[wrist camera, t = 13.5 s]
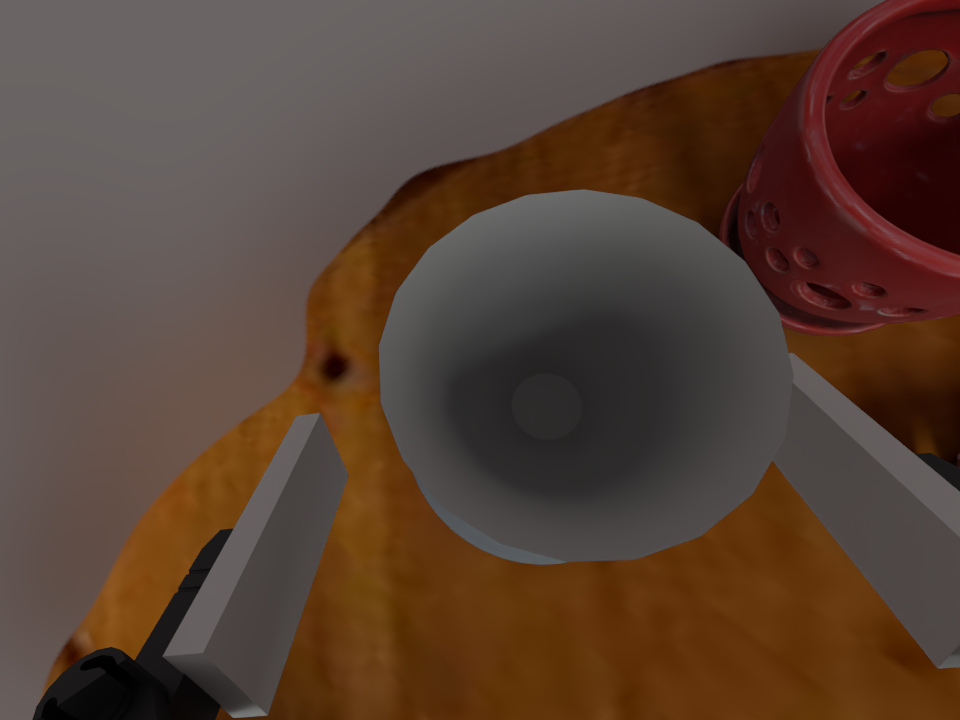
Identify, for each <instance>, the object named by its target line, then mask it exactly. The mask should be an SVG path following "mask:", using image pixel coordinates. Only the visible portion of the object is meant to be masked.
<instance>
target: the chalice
mask: <svg viewBox="0 0 960 720" xmlns="http://www.w3.org/2000/svg"><path fill="white" fill-rule="evenodd" d="M379 364H380V394H381V405H382V408H383V411H384V413H385V416H386V418H387V421H388V423H389V426H390V428H391V431H392V434H393V436H394V439H395V441H396V444H397V446H398V449H399V451H400V454H401V457H402V459H403V461H404V462H405V463H406V464H407V465H408V467H409V468H410V469H411V470H412V471H413V473H414V474H415V475H416V476H417V477H418V478H419V480H420V481H421V482H422V483H423V484H424V486H425V487H426V488H427V489H428V490H429V492H430V493H431V494H432V495H433V496H434V498H435V499H436V500H437V501H438V502H439V503H440V505H441V506H442V507H443V508H444V509H445V510H447V511H449V512H450V513H452V514H453V515H455V516H457V517H458V518H460V519H461V520H463V521H464V522H466V523H468V524H469V525H471V526H472V527H474V528H476V529H477V530H479V531H480V532H482V533H484V534H485V535H487V536H488V537H490V538H491V539H493V540H495V541H496V542H498V543H499V544H503V545H506V546H510V547H514V548H517V549H521V550H525V551H528V552H532V553H536V554H539V555H543V556H547V557H550V558H554V559H558V560H561V561H565V562H574V561H607V560H636V559H638V558H641V557H644V556H647V555H650V554H652V553H655V552H658V551H661V550H664V549H667V548H669V547H672V546H675V545H678V544H681V543H683V542H686V541H689V540H692V539H695V538H698V537H700V536H701V535H703V534H704V533H705V532H706V531H708V530H709V529H710V528H711V527H713V526H714V525H715V524H716V523H718V522H719V521H720V520H721V519H722V518H724V517H725V516H726V515H727V514H729V513H730V512H731V511H732V510H734V509H735V508H736V507H737V506H739V505H740V504H741V503H742V502H744V501H745V500H746V499H747V498H748V497H750V496H751V495H752V494H753V492H754V491H755V489H756V487H757V485H758V484H759V482H760V480H761V478H762V477H763V475H764V473H765V472H766V470H767V468H768V466H769V465H770V463H771V461H772V459H773V458H774V456H775V454H776V453H777V451H778V449H779V447H780V446H781V444H782V442H783V440H784V439H785V434H786V427H787V420H788V413H789V406H790V398H791V391H792V384H793V377H794V374H793V369H792V365H791V361H790V357H789V353H788V348H787V344H786V340H785V336H784V332H783V327H782V323H781V319H780V315H779V313H778V311H777V310H776V308H775V307H774V305H773V303H772V302H771V300H770V299H769V297H768V296H767V294H766V293H765V291H764V290H763V288H762V287H761V285H760V283H759V282H758V280H757V279H756V277H755V276H754V274H753V273H752V271H751V270H750V268H749V267H748V265H747V263H746V262H745V261H744V260H743V259H742V258H740V257H739V256H738V255H737V254H735V253H734V252H733V251H732V250H731V249H729V248H728V247H727V246H726V245H724V244H723V243H722V242H721V241H720V240H718V239H717V238H716V237H715V236H713V235H712V234H711V233H710V232H709V231H707V230H706V229H705V228H704V227H703V226H701V225H700V224H699V223H698V222H695V221H693V220H691V219H688V218H686V217H684V216H682V215H679V214H677V213H675V212H672V211H670V210H668V209H665V208H663V207H661V206H659V205H656V204H654V203H652V202H649V201H647V200H645V199H642V198H636V197H630V196H623V195H617V194H610V193H604V192H598V191H591V190H585V189H583V190H573V191H563V192H553V193H543V194H532V195H525V196H523V197H520V198H517V199H515V200H512V201H509V202H507V203H504V204H501V205H499V206H496V207H493V208H491V209H488V210H485V211H483V212H480V213H477V214H475V215H473V216H471V217H470V218H469V219H467V220H466V221H465V222H463V223H462V224H461V225H459V226H458V227H456V228H455V229H454V230H452V231H451V232H450V233H448V234H447V235H446V236H444V237H443V238H442V239H440V240H439V241H437V242H436V243H435V244H433V245H432V246H431V247H429V248H428V250H427V251H426V252H425V254H424V255H423V256H422V258H421V259H420V261H419V262H418V263H417V265H416V266H415V267H414V269H413V270H412V271H411V273H410V274H409V275H408V277H407V278H406V280H405V281H404V282H403V284H402V285H401V286H400V288H399V289H398V290H397V292H396V294H395V297H394V300H393V303H392V306H391V310H390V313H389V316H388V319H387V322H386V325H385V328H384V332H383V335H382V338H381V341H380V344H379Z"/></svg>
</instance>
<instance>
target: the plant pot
mask: <svg viewBox="0 0 960 720" xmlns="http://www.w3.org/2000/svg"><path fill="white" fill-rule="evenodd" d="M928 49H936V50H941V51H943V52H944V53H945V55H946V56H947V58H948V63H947V65H946V66H945V67H944V68H943V69H942V70H941V71H940V72H939V73H938V74H937V75H935V76H934V77H933V78H931V79H929V80H927V81H924V82H922V83H919V84H916V85H910V86H897V85H893V84H891V83H889V82H888V81H887V79H886V78H887V75H888V74H889V72H890V71H891V70H892V69H893V68H894V67H895V66H896V65H897V64H898V63H899V62H901V61H902V60H904V59H905V58H907V57H909V56H910V55H912V54H915V53H917V52H920V51H924V50H928ZM875 53H877V55H876V56H875V57H874V58H873V59H871V60H870V61H869V62H868V63H866V64H865V65H863V66H861V67H859V68H857V69H854V70H851V69H852V68H853V67H854V66H855V65H856V64H857V63H859V62H860V61H861V60H862V59H864V58H865V57H867V56H869V55H871V54H875ZM857 90H862V91H861V92H860V93H859V94H858V95H857V96H856V97H855V98H853V99H852V100H850V101H848V102H846V103H841V102H842V101H843V99H844V98H845V97H847V96H848V95H849V94H851V93H852V92H854V91H857ZM947 94H960V0H886V1H884V2H882V3H880V4H878V5H876V6H875V7H873V8H871V9H870V10H868V11H866V12H865V13H863V14H862V15H860V16H859V17H857V18H856V19H854V20H853V21H851V22H850V23H849V24H848V25H846V26H845V27H844V28H843V29H842V30H841V31H840V32H838V33H837V34H836V35H835V36H834V37H833V38H832V39H831V40H830V41H829V42H828V43H827V44H826V46H825V47H824V48H823V49H822V50H821V51H820V53H819V54H818V55H817V57H816V58H815V60H814V61H813V62H812V64H811V65H810V66H809V68H808V69H807V71H806V72H805V73H804V75H803V76H802V77H801V79H800V80H799V82H798V83H797V85H796V86H795V88H794V89H793V91H792V92H791V93H790V95H789V96H788V98H787V100H786V101H785V103H784V105H783V106H782V108H781V110H780V111H779V113H778V115H777V116H776V117H775V119H774V120H773V122H772V123H771V125H770V126H769V128H768V130H767V132H766V133H765V135H764V137H763V139H762V141H761V142H760V144H759V146H758V149H757V151H756V153H755V155H754V157H753V159H752V162H751V164H750V166H749V169H748V171H747V174H746V177H745V180H744V182H743V183H742V184H741V185H740V186H739V188H738V189H737V190H736V192H735V193H734V194H733V196H732V197H731V199H730V201H729V202H728V204H727V206H726V209H725V211H724V214H723V217H722V220H721V224H720V230H719V240H720V241H721V242H722V243H723V244H724V245H726V246H727V247H728V248H729V249H731V250H732V251H733V252H734V253H735V254H737V255H738V256H739V257H740V258H742V259H743V260H744V261H745V262H746V263H747V265H748V267H749V268H750V270H751V271H752V273H753V274H754V276H755V277H756V279H757V280H758V282H759V283H760V285H761V287H762V288H763V290H764V291H765V293H766V294H767V296H768V297H769V299H770V300H771V302H772V303H773V305H774V307H775V308H776V310H777V311H778V313H779V315H780V319H781V323H782V326H783V327H786V328H788V329H791V330H794V331H797V332H801V333H806V334H811V335H818V336H843V335H851V334H858V333H862V332H866V331H870V330H873V329H876V328H879V327H881V326H884V325H886V324H888V323H900V322H912V321H922V320H930V319H938V318H944V317H950V316H955V315H959V314H960V113H959V114H957V115H955V116H950V117H942V116H936V115H935V114H934V113H933V112H932V110H931V106H932V104H933V103H934V102H935V101H936V100H937V99H938V98H940V97H942V96H944V95H947Z"/></svg>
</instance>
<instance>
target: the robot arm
mask: <svg viewBox="0 0 960 720" xmlns="http://www.w3.org/2000/svg"><path fill="white" fill-rule="evenodd" d="M789 357H790V361H791V365H792V369H793V374H794V377H793V384H792V391H791V398H790V406H789V413H788V420H787V427H786V434H785V439H784V440H783V442H782V444H781V446H780V447H779V449H778V451H777V453H776V454H775V456H774V458H773V459H772V461H773V462H774V463H775V465H776V466H777V467H778V468H779V470H780V471H781V472H782V474H783V475H784V476H785V477H786V479H787V480H788V481H789V482H790V484H791V485H792V486H793V487H794V489H795V490H796V491H797V492H798V494H799V495H800V496H801V497H802V499H803V500H804V501H805V502H806V504H807V505H808V506H809V507H810V509H811V510H812V511H813V512H814V514H815V515H816V516H817V518H818V519H819V520H820V521H821V523H822V524H823V525H824V526H825V528H826V529H827V530H828V531H829V533H830V534H831V535H832V536H833V538H834V539H835V540H836V541H837V543H838V544H839V545H840V546H841V548H842V549H843V550H844V551H845V553H846V554H847V555H848V556H849V558H850V559H851V560H852V561H853V563H854V564H855V565H856V567H857V568H858V569H859V570H860V572H861V573H862V574H863V575H864V577H865V578H866V579H867V580H868V582H869V583H870V584H871V585H872V587H873V588H874V589H875V590H876V592H877V593H878V594H879V595H880V597H881V598H882V599H883V600H884V602H885V603H886V604H887V605H888V607H889V608H890V609H891V611H892V612H893V613H894V614H895V616H896V617H897V618H898V619H899V621H900V622H901V623H902V624H903V626H904V627H905V628H906V629H907V631H908V632H909V633H910V634H911V636H912V637H913V638H914V639H915V641H916V642H917V643H918V644H919V646H920V647H921V648H922V649H923V651H924V652H925V653H926V654H927V656H928V657H929V658H930V660H931V661H932V662H933V663H934V665H935V666H936V667H937V668H938V669H939V668H953V667H960V468H959V467H957V466H955V465H953V464H951V463H949V462H947V461H945V460H943V459H941V458H939V457H937V456H935V455H933V454H931V453H924V454H914V453H913V452H911V451H910V450H909V449H908V448H907V447H905V446H904V445H903V444H902V443H901V442H899V441H898V440H897V439H896V438H895V437H893V436H892V435H891V434H890V433H889V432H887V431H886V430H885V429H884V428H883V427H881V426H880V425H879V424H878V423H877V422H875V421H874V420H873V419H872V418H871V417H869V416H868V415H867V414H866V413H865V412H863V411H862V410H861V409H860V408H858V407H857V406H856V405H855V404H854V403H852V402H851V401H850V400H849V399H848V398H846V397H845V396H844V395H843V394H842V393H840V392H839V391H838V390H837V389H836V388H834V387H833V386H832V385H831V384H830V383H828V382H827V381H826V380H825V379H824V378H822V377H821V376H820V375H819V374H818V373H816V372H815V371H814V370H813V369H812V368H810V367H809V366H808V365H807V364H806V363H804V362H803V361H802V360H801V359H800V358H798V357H797V356H796V355H795V354H794V353H789ZM348 476H349V475H348V473H347V470H346V468H345V466H344V464H343V462H342V459H341V457H340V455H339V453H338V451H337V448H336V446H335V444H334V442H333V440H332V437H331V435H330V433H329V431H328V429H327V426H326V424H325V422H324V420H323V418H322V415H321V413H316V414H308V415H301V416H296V418H295V420H294V422H293V423H292V425H291V427H290V429H289V431H288V432H287V434H286V436H285V438H284V440H283V441H282V443H281V445H280V447H279V449H278V450H277V452H276V454H275V456H274V457H273V459H272V461H271V463H270V465H269V466H268V468H267V470H266V472H265V474H264V475H263V477H262V479H261V481H260V483H259V484H258V486H257V488H256V490H255V492H254V493H253V495H252V497H251V499H250V500H249V502H248V504H247V506H246V508H245V509H244V511H243V513H242V515H241V517H240V518H239V520H238V522H237V524H236V526H235V527H234V529H225V530H220V531H219V532H218V533H217V534H216V535H215V536H214V537H213V538H212V539H211V540H210V541H209V542H208V543H207V544H206V545H205V546H204V547H203V548H202V550H201V551H200V553H199V555H198V556H197V558H196V560H195V561H194V563H193V565H192V566H191V568H190V570H189V574H188V575H186V576H185V578H184V579H183V581H182V583H181V584H180V586H179V588H178V589H179V591H178V592H177V593H175V594H174V596H173V598H172V599H171V601H170V603H169V604H168V606H167V608H166V609H165V611H164V613H163V614H162V616H161V618H160V619H159V621H158V623H157V624H156V626H155V628H154V629H153V631H152V633H151V634H150V636H149V638H148V639H147V641H146V642H145V644H144V646H143V647H142V649H141V651H140V652H139V654H138V656H137V657H136V659H135V661H134V660H133V659H132V658H130V657H129V656H128V655H127V654H125V653H124V652H123V651H122V650H119V649H116V648H113V647H109V648H104V649H99V650H96V651H94V652H93V653H91V654H89V655H87V656H85V657H83V658H81V659H80V660H78V661H77V662H76V663H75V664H73V665H72V666H71V667H69V668H68V669H67V670H66V671H64V672H63V673H62V674H61V675H60V676H59V678H58V679H57V680H56V681H55V682H54V683H53V684H52V685H51V686H50V687H49V688H48V690H47V691H46V693H45V694H44V696H43V698H42V699H41V701H40V702H39V704H38V705H37V707H36V710H35V714H34V717H33V720H215V718H216V716H217V714H218V711H219V709H220V707H221V708H222V709H224V710H225V711H226V712H227V713H228V714H229V715H231V716H232V717H233V718H240V717H254V716H268V713H269V710H270V707H271V704H272V701H273V698H274V695H275V693H276V690H277V687H278V684H279V681H280V678H281V675H282V672H283V669H284V666H285V663H286V660H287V657H288V654H289V651H290V648H291V645H292V642H293V639H294V636H295V633H296V630H297V627H298V624H299V621H300V618H301V615H302V612H303V609H304V606H305V603H306V600H307V598H308V595H309V592H310V589H311V586H312V583H313V580H314V577H315V574H316V571H317V568H318V565H319V562H320V559H321V556H322V553H323V550H324V547H325V544H326V541H327V538H328V535H329V532H330V529H331V526H332V523H333V520H334V517H335V514H336V511H337V508H338V505H339V502H340V500H341V497H342V494H343V491H344V488H345V485H346V482H347V479H348Z"/></svg>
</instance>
